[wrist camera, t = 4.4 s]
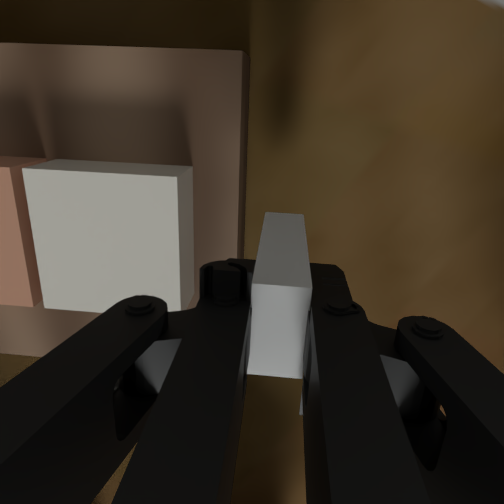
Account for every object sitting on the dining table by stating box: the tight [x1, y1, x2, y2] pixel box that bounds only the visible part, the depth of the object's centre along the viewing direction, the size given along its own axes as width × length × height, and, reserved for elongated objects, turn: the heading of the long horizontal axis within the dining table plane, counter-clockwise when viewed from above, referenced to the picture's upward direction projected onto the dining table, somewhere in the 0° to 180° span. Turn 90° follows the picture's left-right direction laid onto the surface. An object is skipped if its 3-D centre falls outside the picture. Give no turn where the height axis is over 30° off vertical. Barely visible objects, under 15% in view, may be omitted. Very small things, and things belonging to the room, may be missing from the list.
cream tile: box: [22, 159, 194, 313], centre depth 18 cm, size 6×6×2 cm
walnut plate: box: [0, 43, 250, 357], centre depth 20 cm, size 16×15×3 cm
